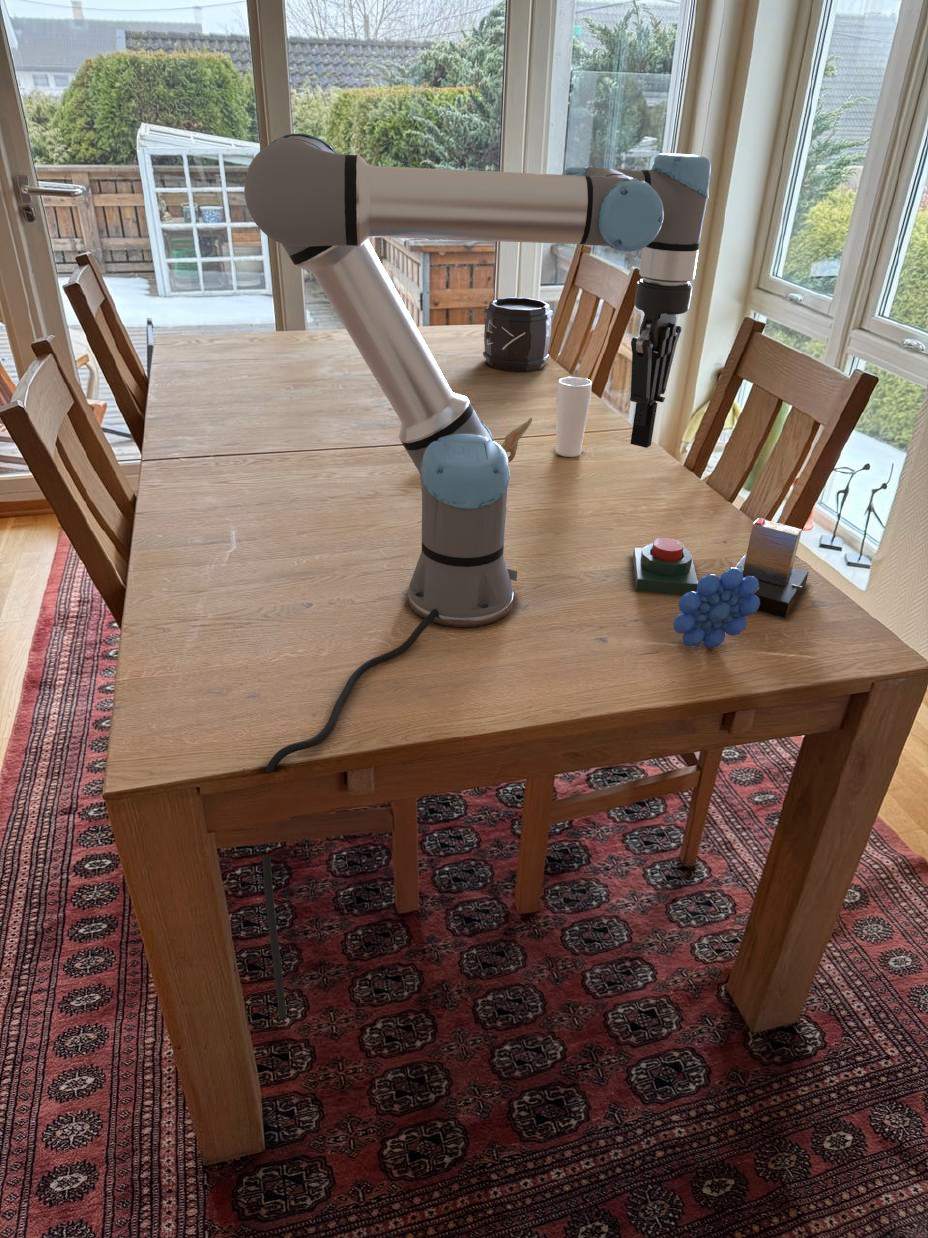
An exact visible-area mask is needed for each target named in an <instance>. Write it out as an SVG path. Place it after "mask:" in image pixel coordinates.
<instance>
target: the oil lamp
mask: <svg viewBox="0 0 928 1238" xmlns="http://www.w3.org/2000/svg"><path fill="white" fill-rule="evenodd" d="M532 422H533V418H532V417H530V418H529V419H528V420H526V421H525V422H523V423H521V424H519V425H518V426H517V427H515V428H513V429H512V430H511V431H510V432H509V433H507V434H506V436H505V437H504V441H503V442H502V443H501V444H499V445H500V446H501V447H502V448H503V449H504V451H505V452H506V453H509V454H510V455H509V456H507V457H508V463H510V462H513V460H514V458H515V457H516V453H517V450H518V445H519V441H520V439H521V438H522V437H523V435H524V434H525V433H526V432H527V430H528V429H529V427H531V425H532Z"/></svg>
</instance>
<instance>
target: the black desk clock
mask: <svg viewBox="0 0 928 1238" xmlns="http://www.w3.org/2000/svg"><path fill="white" fill-rule="evenodd" d="M484 309H485V310H484V313H485V314H486V316H485V321H484V322H485V323H484V330H483V331H484V332H483V344H484V346H483V347H484V351H483V352H482V357H484V358H485V361H486V364H488V365H489V366H490V367H491V368H493V369H497V370H502V371H506V372H531V371H539V370H541V369H542V368H543V367H544V366H545V365H546V362H547V361H549V358H550V354H549V351H550V344H551V338H552V337H551V336H552V317H553V315H554V312H553V310H552V309H551V306H550V304H549V303H547V302H546V301H544V300H540V299H536V298H535V299H534V298H529V297H514V296H513V297H512V296H511V297H509V296H508V297H500V298H496V299H492V300H491V301H490V302H489V304H488V306H487V307H486V308H484Z"/></svg>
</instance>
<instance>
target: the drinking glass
mask: <svg viewBox="0 0 928 1238" xmlns="http://www.w3.org/2000/svg"><path fill="white" fill-rule="evenodd" d="M592 385H593V383H592V381H591V380H590V379H588V378H585V377H580V376H565V377H561V378H559V379H558V383H557V388H556V399H555V412H556V413H555V448H554V451H555V453H556V454H557V455H559V456H561V457H566V458H575V457H578V456H580V455H581V453H582V449H583V441H584V436H585V430H586V426H587V421H588V416H589V410H590V405H591V398H592V397H591V396H592V387H593V386H592Z"/></svg>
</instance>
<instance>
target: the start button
mask: <svg viewBox="0 0 928 1238" xmlns="http://www.w3.org/2000/svg"><path fill="white" fill-rule="evenodd" d="M652 544H653V547H652V556H653V557H655V558H657V559H660V560H663V561H678V560H681V558H682V553H683V548H685V546H684V544H683V543H682V542H681V541H679V540H677V539H674V538H669V537H662V538H656V539H655V540H654V541H653V542H652Z"/></svg>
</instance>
